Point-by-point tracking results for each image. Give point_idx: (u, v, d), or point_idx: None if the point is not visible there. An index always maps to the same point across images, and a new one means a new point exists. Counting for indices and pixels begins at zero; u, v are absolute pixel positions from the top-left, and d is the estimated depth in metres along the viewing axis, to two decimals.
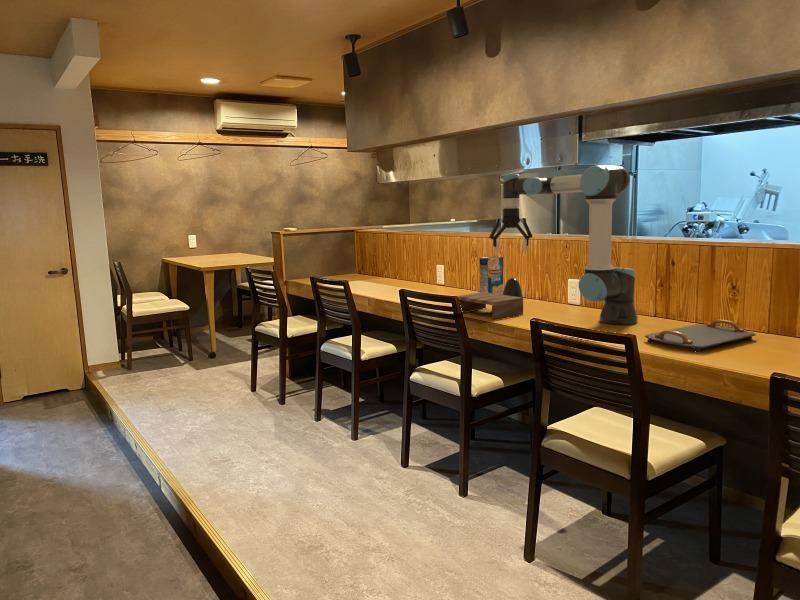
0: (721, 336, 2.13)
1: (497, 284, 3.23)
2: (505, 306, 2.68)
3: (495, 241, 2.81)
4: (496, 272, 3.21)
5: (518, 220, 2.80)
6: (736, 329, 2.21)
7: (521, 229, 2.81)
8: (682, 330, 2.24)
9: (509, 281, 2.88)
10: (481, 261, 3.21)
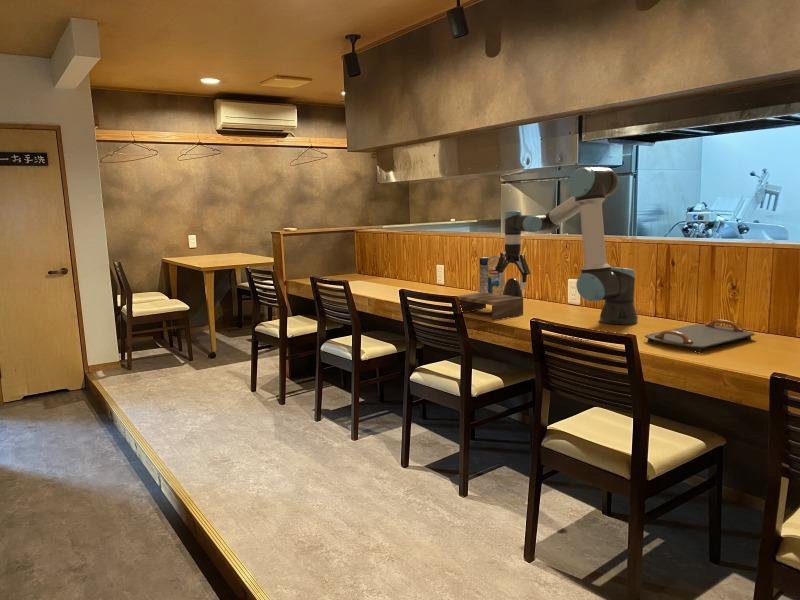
0: (721, 336, 2.13)
1: (497, 284, 3.23)
2: (505, 306, 2.68)
3: None
4: (496, 272, 3.21)
5: (516, 256, 2.84)
6: (735, 329, 2.21)
7: (518, 265, 2.84)
8: (681, 330, 2.24)
9: (509, 281, 2.88)
10: (481, 261, 3.21)
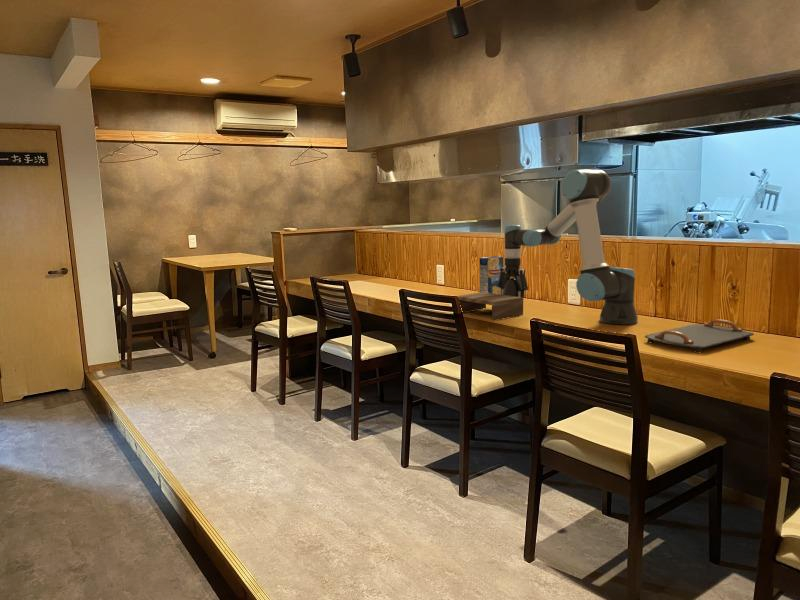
0: (720, 336, 2.14)
1: (497, 284, 3.23)
2: (505, 306, 2.68)
3: (501, 290, 2.95)
4: (496, 272, 3.21)
5: (516, 270, 2.85)
6: (734, 329, 2.22)
7: (517, 280, 2.85)
8: (681, 330, 2.24)
9: (509, 281, 2.88)
10: (481, 261, 3.21)
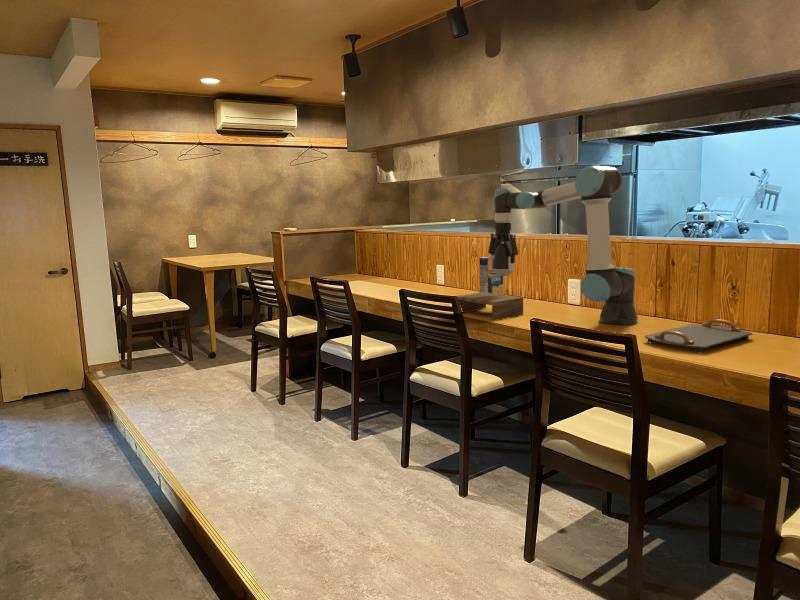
0: (720, 336, 2.14)
1: (497, 284, 3.23)
2: (505, 306, 2.68)
3: (492, 256, 2.88)
4: None
5: (506, 235, 2.78)
6: (733, 328, 2.22)
7: (507, 245, 2.78)
8: (680, 330, 2.24)
9: (499, 246, 2.81)
10: (481, 261, 3.21)
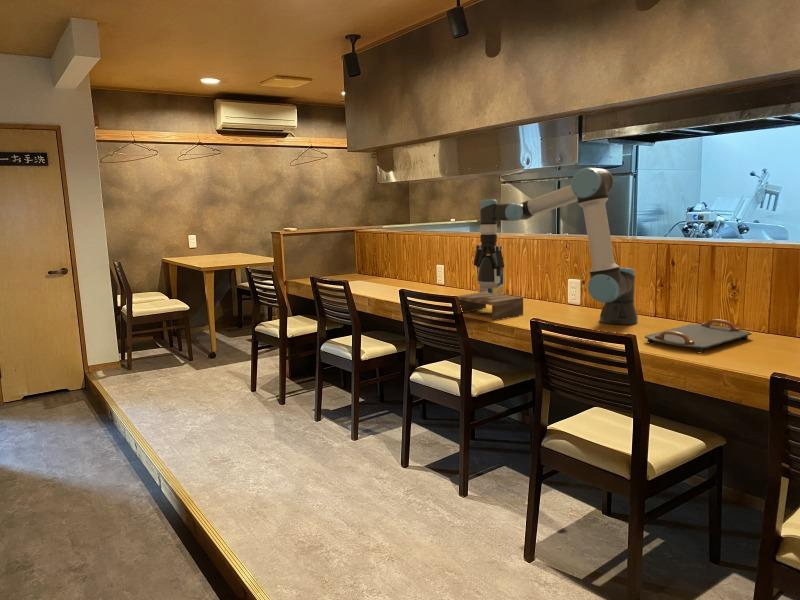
0: (719, 336, 2.14)
1: None
2: (505, 306, 2.68)
3: (477, 268, 2.82)
4: None
5: (491, 247, 2.73)
6: (732, 328, 2.22)
7: (493, 257, 2.73)
8: (679, 330, 2.24)
9: (485, 258, 2.75)
10: None
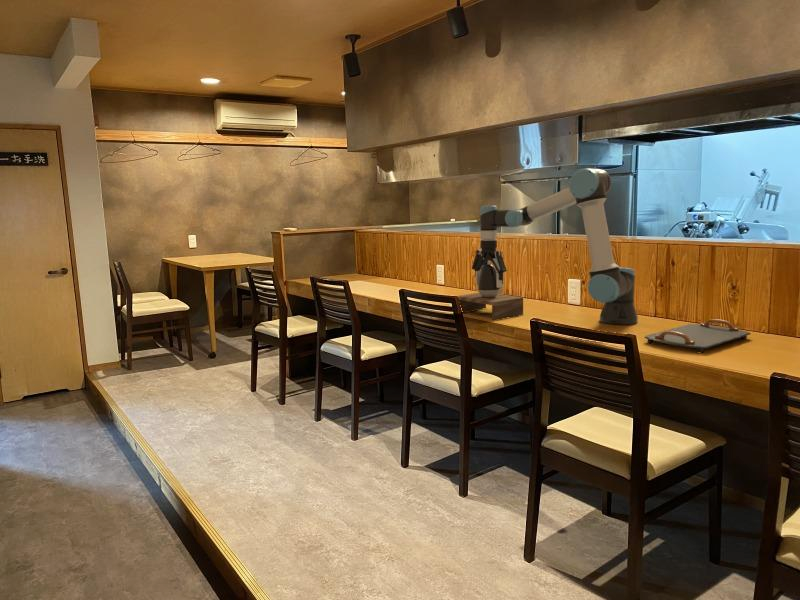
0: (719, 336, 2.14)
1: None
2: (505, 306, 2.68)
3: (476, 272, 2.83)
4: None
5: (492, 253, 2.73)
6: (731, 328, 2.22)
7: (494, 262, 2.73)
8: (678, 330, 2.24)
9: (485, 267, 2.76)
10: None
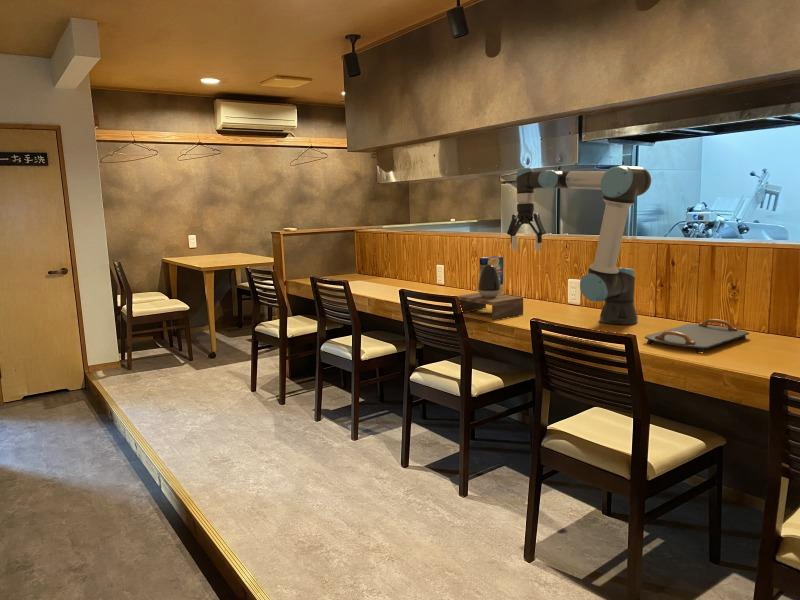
0: (718, 336, 2.14)
1: None
2: (505, 306, 2.68)
3: (511, 237, 2.79)
4: None
5: (529, 216, 2.69)
6: (729, 328, 2.23)
7: (532, 225, 2.68)
8: (678, 330, 2.24)
9: (485, 268, 2.75)
10: (481, 261, 3.21)
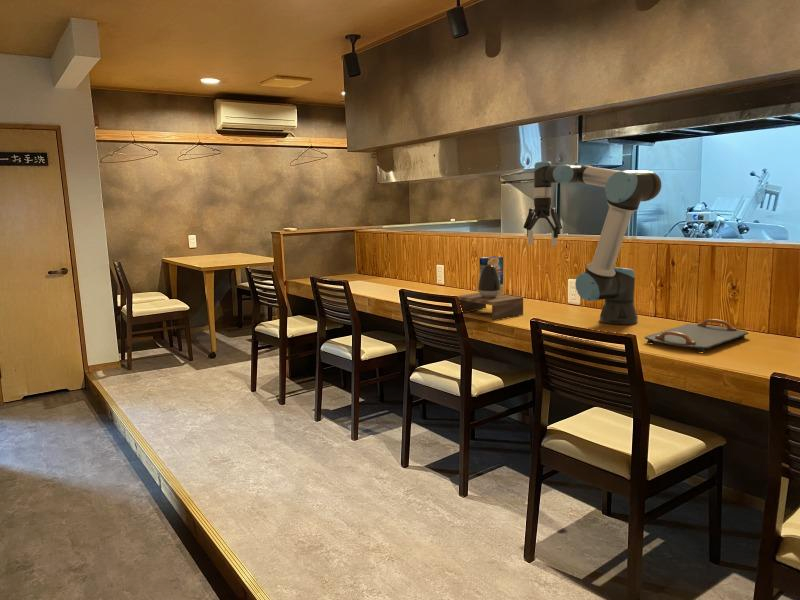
0: (718, 335, 2.14)
1: None
2: (505, 306, 2.68)
3: (528, 231, 2.78)
4: None
5: (546, 210, 2.68)
6: (728, 328, 2.23)
7: (548, 220, 2.67)
8: (677, 330, 2.24)
9: (485, 268, 2.75)
10: (481, 261, 3.21)
